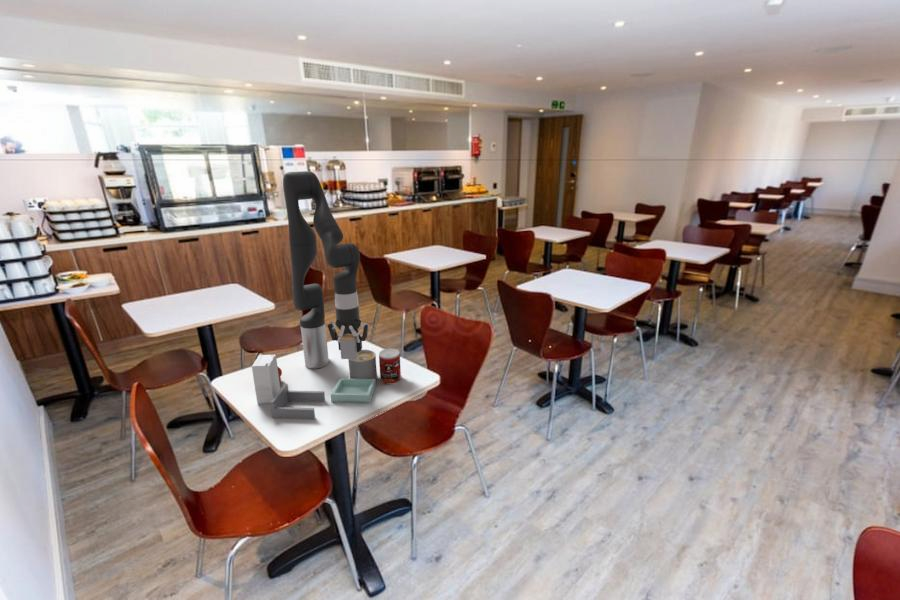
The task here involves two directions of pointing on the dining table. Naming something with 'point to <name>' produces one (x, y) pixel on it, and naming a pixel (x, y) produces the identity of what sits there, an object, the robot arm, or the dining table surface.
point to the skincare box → (266, 378)
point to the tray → (353, 390)
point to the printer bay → (287, 395)
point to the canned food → (389, 366)
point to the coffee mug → (363, 366)
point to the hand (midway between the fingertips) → (350, 351)
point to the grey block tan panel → (348, 347)
